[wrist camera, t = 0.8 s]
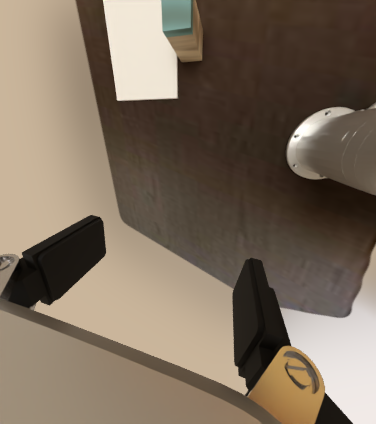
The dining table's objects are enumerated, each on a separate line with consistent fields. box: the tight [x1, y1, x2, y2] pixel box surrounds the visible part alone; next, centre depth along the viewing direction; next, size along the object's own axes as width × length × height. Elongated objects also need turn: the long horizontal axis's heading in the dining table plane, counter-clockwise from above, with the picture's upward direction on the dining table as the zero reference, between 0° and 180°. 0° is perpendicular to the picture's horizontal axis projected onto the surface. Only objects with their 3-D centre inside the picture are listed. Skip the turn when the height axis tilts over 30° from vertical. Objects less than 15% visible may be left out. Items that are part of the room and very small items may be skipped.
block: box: [161, 0, 203, 62], centre depth 25 cm, size 4×4×10 cm
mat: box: [103, 0, 178, 101], centre depth 30 cm, size 22×14×1 cm, turn 179°
